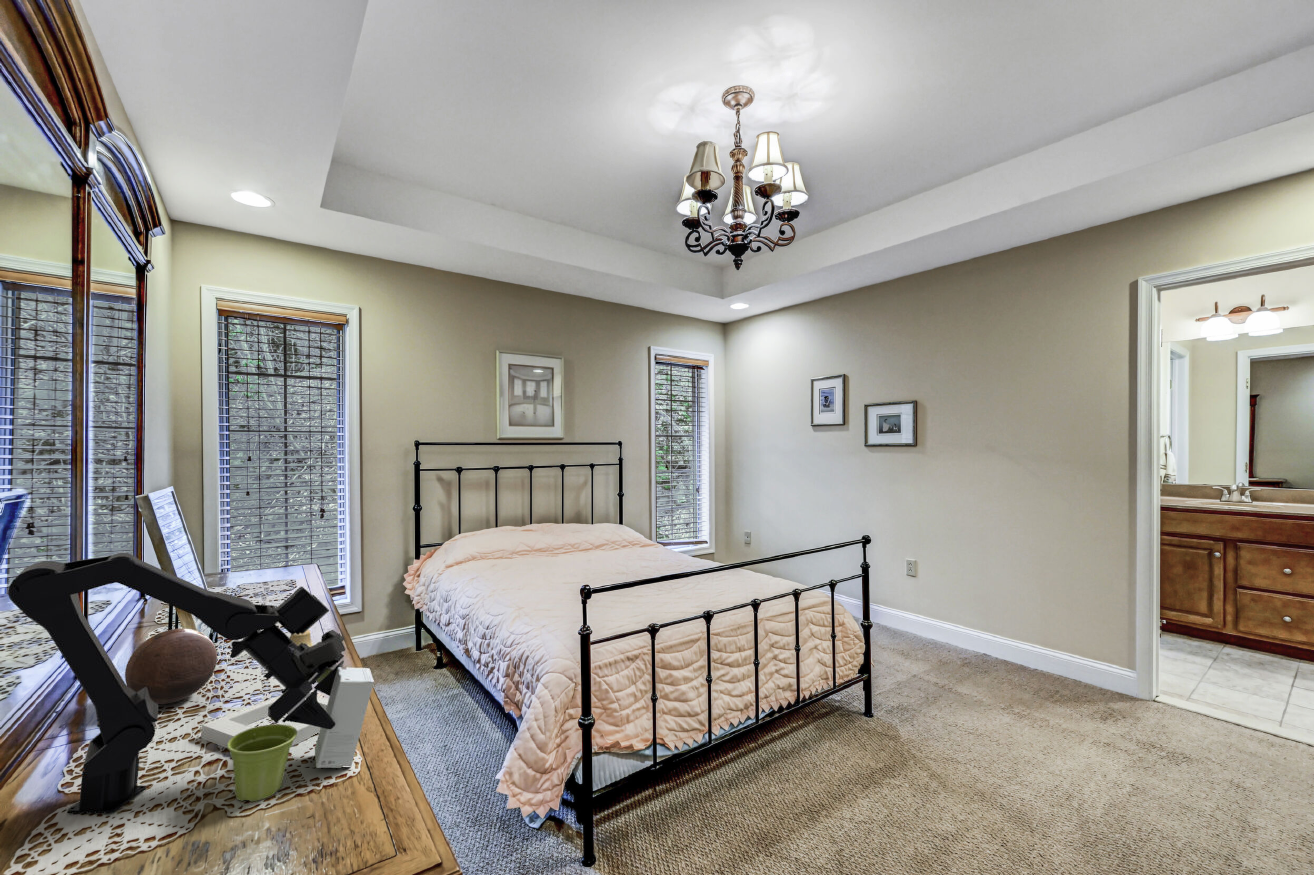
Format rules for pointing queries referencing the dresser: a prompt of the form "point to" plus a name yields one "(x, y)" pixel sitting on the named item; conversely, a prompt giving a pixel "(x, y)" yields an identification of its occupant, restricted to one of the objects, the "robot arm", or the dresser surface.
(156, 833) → the dresser surface
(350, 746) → the skincare box
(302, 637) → the hand bell
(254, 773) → the plant pot
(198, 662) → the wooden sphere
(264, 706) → the white square frame
